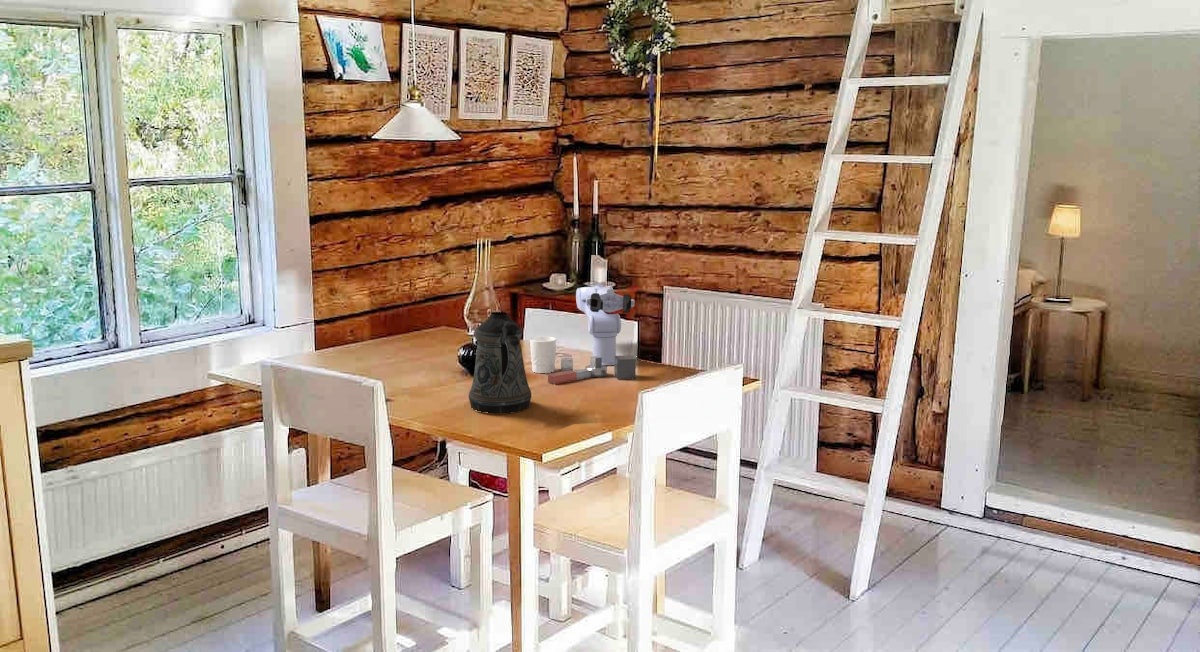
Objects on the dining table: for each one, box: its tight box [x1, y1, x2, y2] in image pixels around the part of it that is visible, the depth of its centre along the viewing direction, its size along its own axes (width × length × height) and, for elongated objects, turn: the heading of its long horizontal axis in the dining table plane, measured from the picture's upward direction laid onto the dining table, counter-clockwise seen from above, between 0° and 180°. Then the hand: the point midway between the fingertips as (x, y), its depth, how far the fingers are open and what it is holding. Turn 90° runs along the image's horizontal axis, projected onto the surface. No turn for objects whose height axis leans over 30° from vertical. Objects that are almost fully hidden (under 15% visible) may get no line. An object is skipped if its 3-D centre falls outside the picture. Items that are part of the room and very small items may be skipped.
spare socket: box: [560, 357, 574, 372], centre depth 302 cm, size 4×4×4 cm
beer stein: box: [468, 311, 532, 414], centre depth 260 cm, size 16×19×25 cm
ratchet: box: [547, 356, 608, 385], centre depth 293 cm, size 20×6×6 cm, turn 129°
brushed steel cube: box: [613, 354, 637, 380], centre depth 295 cm, size 5×5×6 cm
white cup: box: [529, 336, 557, 374], centre depth 303 cm, size 8×8×10 cm
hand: (614, 306), depth 292 cm, fingers open, 7 cm apart
